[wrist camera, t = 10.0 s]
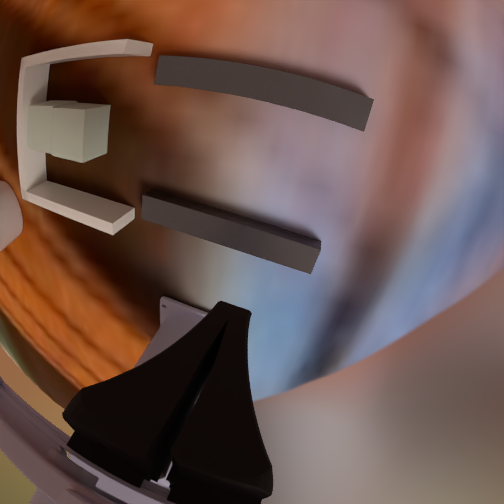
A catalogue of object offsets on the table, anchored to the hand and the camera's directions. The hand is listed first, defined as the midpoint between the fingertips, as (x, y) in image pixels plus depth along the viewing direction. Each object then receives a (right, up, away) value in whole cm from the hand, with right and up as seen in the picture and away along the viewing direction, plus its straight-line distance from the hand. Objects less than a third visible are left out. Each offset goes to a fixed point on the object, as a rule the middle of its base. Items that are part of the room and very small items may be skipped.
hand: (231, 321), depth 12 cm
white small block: (-12, +13, +7) cm, 19 cm away
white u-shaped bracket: (-13, +13, +7) cm, 20 cm away
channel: (0, +9, +6) cm, 11 cm away
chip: (-16, +15, +7) cm, 23 cm away
